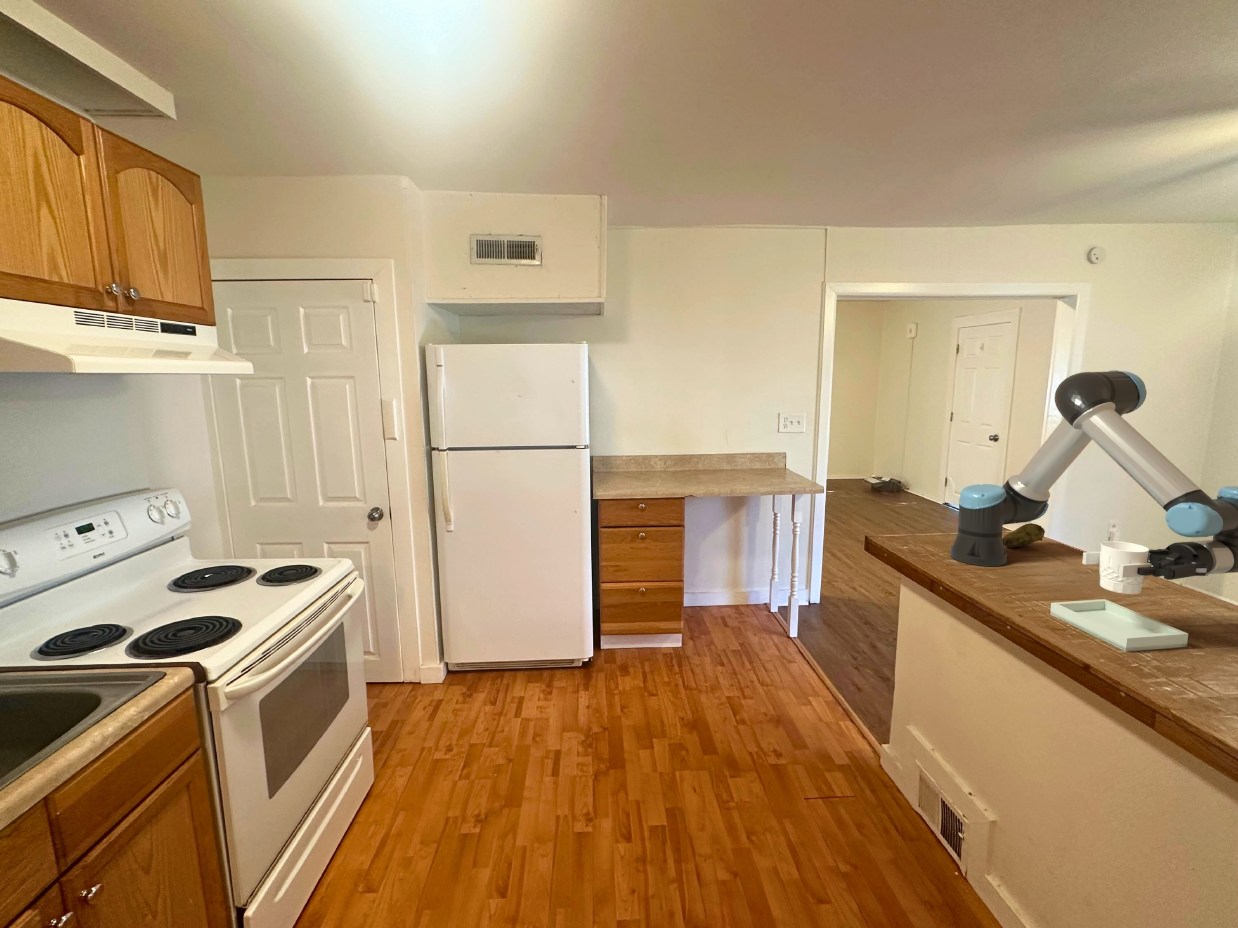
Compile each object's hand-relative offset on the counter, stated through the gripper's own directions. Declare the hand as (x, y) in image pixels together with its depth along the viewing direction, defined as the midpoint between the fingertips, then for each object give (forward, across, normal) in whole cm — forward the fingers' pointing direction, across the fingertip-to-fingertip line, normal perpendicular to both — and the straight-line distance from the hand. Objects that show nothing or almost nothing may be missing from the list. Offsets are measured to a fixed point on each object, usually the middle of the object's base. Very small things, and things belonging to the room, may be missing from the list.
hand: (1102, 564), depth 117 cm
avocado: (-32, +56, -16) cm, 66 cm away
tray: (-5, 0, -16) cm, 17 cm away
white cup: (-5, 0, -6) cm, 8 cm away
